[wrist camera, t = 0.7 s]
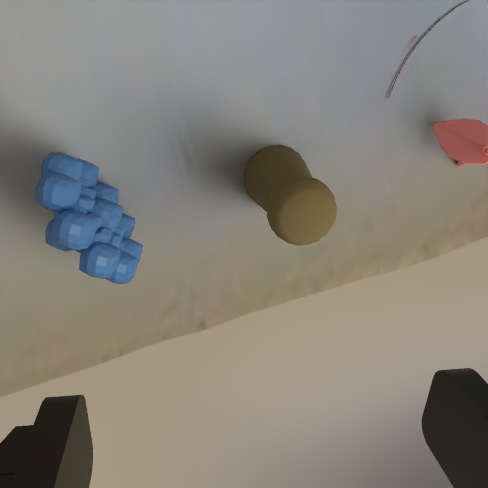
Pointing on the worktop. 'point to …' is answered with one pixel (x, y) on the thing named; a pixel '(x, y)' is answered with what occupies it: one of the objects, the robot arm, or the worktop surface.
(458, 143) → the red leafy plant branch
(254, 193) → the cork
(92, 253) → the grapes
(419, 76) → the worktop surface
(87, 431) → the robot arm
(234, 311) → the worktop surface
